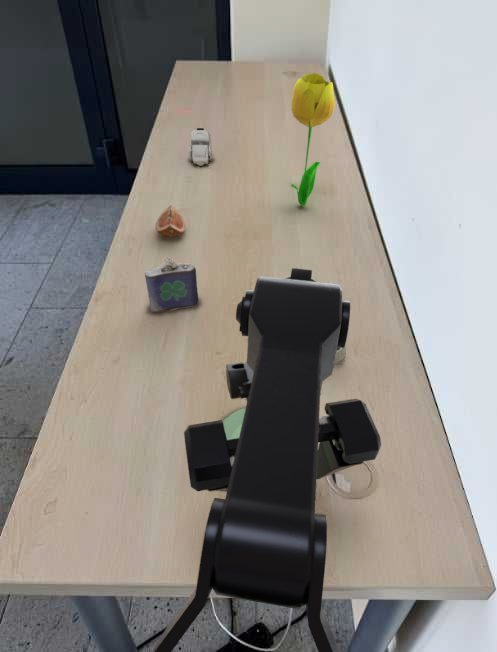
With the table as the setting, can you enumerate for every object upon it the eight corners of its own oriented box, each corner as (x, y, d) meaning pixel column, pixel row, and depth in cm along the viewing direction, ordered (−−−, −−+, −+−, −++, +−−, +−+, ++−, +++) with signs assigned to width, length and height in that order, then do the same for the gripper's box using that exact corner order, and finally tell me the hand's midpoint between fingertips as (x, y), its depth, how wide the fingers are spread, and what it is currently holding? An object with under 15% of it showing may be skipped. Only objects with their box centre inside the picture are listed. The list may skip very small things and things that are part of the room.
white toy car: (211, 168, 137) (211, 132, 136) (210, 162, 130) (210, 124, 130) (190, 168, 137) (190, 132, 136) (188, 162, 130) (188, 124, 130)
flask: (151, 314, 92) (143, 269, 84) (149, 304, 94) (142, 259, 86) (199, 306, 93) (196, 261, 86) (196, 296, 95) (193, 252, 88)
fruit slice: (185, 244, 108) (183, 224, 104) (155, 245, 108) (152, 225, 104) (186, 223, 114) (184, 204, 110) (157, 224, 113) (154, 205, 110)
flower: (292, 218, 116) (304, 86, 95) (279, 202, 121) (288, 72, 100) (325, 212, 118) (343, 81, 97) (311, 196, 123) (325, 68, 102)
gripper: (354, 321, 50) (334, 410, 61) (172, 345, 47) (185, 434, 58) (399, 409, 42) (366, 493, 53) (184, 444, 39) (196, 525, 50)
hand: (276, 482), depth 54 cm, fingers open, 9 cm apart
